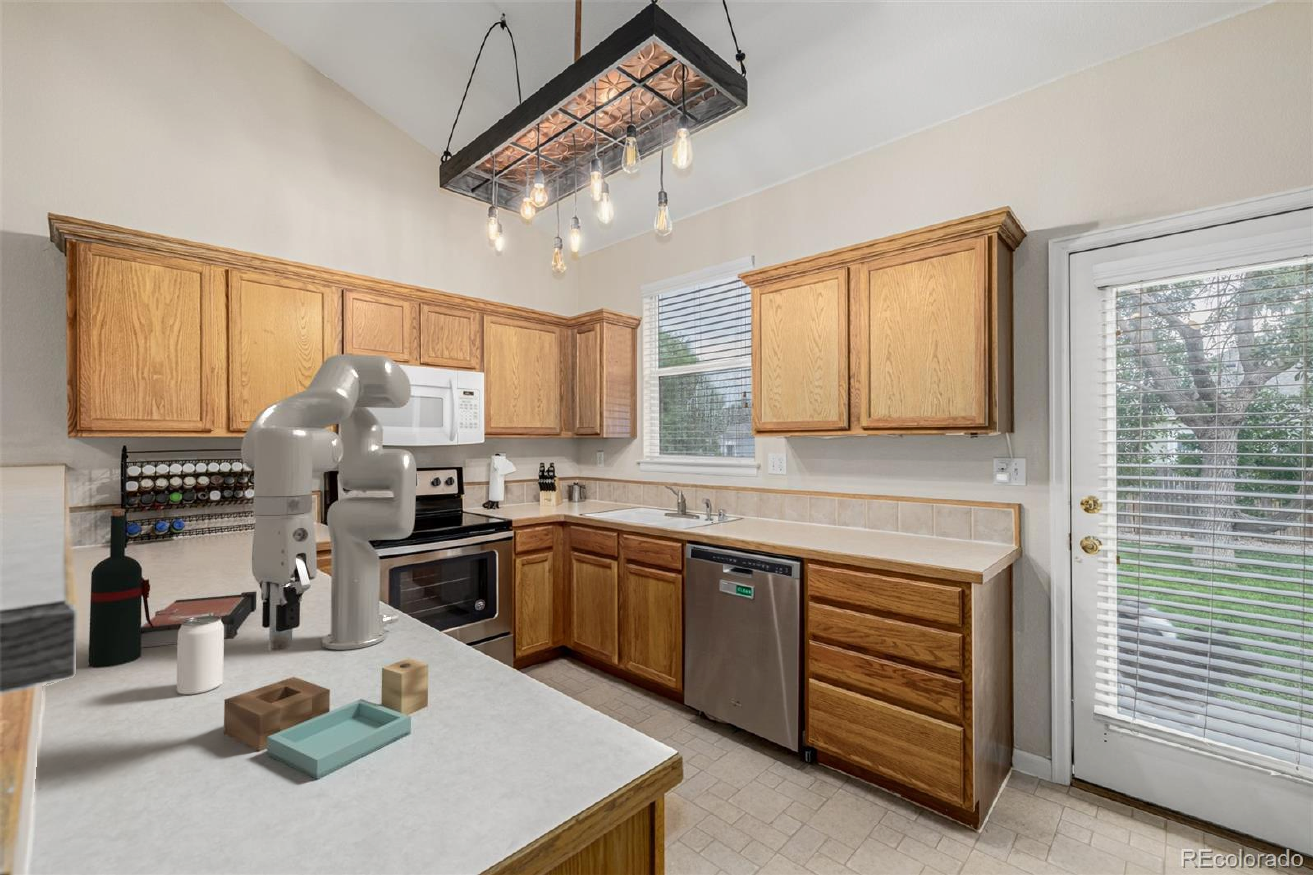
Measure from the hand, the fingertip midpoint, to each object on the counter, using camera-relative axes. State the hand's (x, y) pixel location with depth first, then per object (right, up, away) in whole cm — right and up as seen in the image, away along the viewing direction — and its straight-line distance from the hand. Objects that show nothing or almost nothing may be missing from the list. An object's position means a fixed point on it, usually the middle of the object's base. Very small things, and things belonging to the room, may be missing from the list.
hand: (280, 626), depth 89 cm
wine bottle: (-50, -16, +28) cm, 59 cm away
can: (-23, -16, +14) cm, 31 cm away
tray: (+12, -15, -5) cm, 20 cm away
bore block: (0, -15, 0) cm, 15 cm away
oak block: (+16, -16, +6) cm, 23 cm away
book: (-50, -17, +48) cm, 72 cm away
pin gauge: (0, -3, 0) cm, 3 cm away
